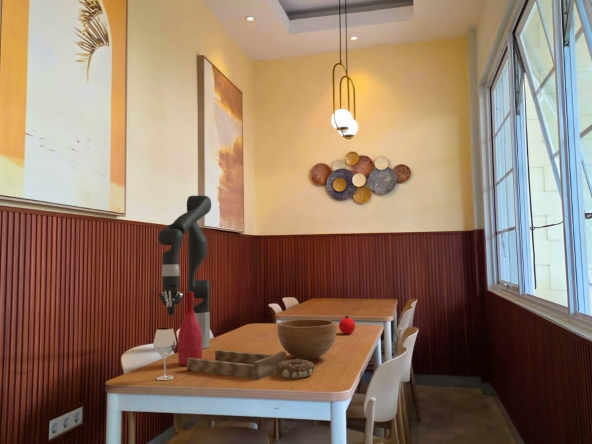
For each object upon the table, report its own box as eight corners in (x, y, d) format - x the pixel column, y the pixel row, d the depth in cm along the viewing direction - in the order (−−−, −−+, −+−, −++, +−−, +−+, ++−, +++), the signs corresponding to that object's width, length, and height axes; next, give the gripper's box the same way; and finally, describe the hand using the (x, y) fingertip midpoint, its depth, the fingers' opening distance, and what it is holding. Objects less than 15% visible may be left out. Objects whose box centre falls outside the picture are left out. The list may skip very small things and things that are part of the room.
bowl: (343, 354, 203) (342, 319, 205) (328, 367, 180) (327, 328, 181) (289, 352, 212) (289, 318, 213) (269, 364, 188) (268, 326, 189)
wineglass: (156, 376, 173) (156, 327, 175) (178, 375, 174) (178, 326, 175) (151, 381, 165) (151, 330, 167) (174, 380, 166) (174, 329, 167)
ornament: (356, 335, 252) (355, 316, 253) (339, 335, 253) (339, 317, 253) (354, 332, 261) (353, 314, 262) (338, 333, 261) (338, 315, 262)
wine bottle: (196, 366, 187) (195, 292, 189) (174, 366, 189) (173, 292, 191) (206, 361, 196) (205, 290, 199) (184, 361, 198) (184, 290, 201)
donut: (301, 382, 160) (301, 367, 161) (269, 377, 168) (269, 363, 168) (321, 372, 173) (321, 359, 173) (290, 369, 180) (290, 355, 180)
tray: (187, 370, 181) (186, 354, 181) (218, 360, 197) (218, 346, 198) (258, 379, 164) (258, 362, 165) (286, 368, 181) (286, 352, 181)
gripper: (153, 275, 201) (153, 315, 200) (175, 275, 195) (176, 316, 193) (166, 274, 208) (166, 313, 206) (188, 274, 201) (188, 314, 200)
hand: (171, 315), depth 200 cm, fingers closed
